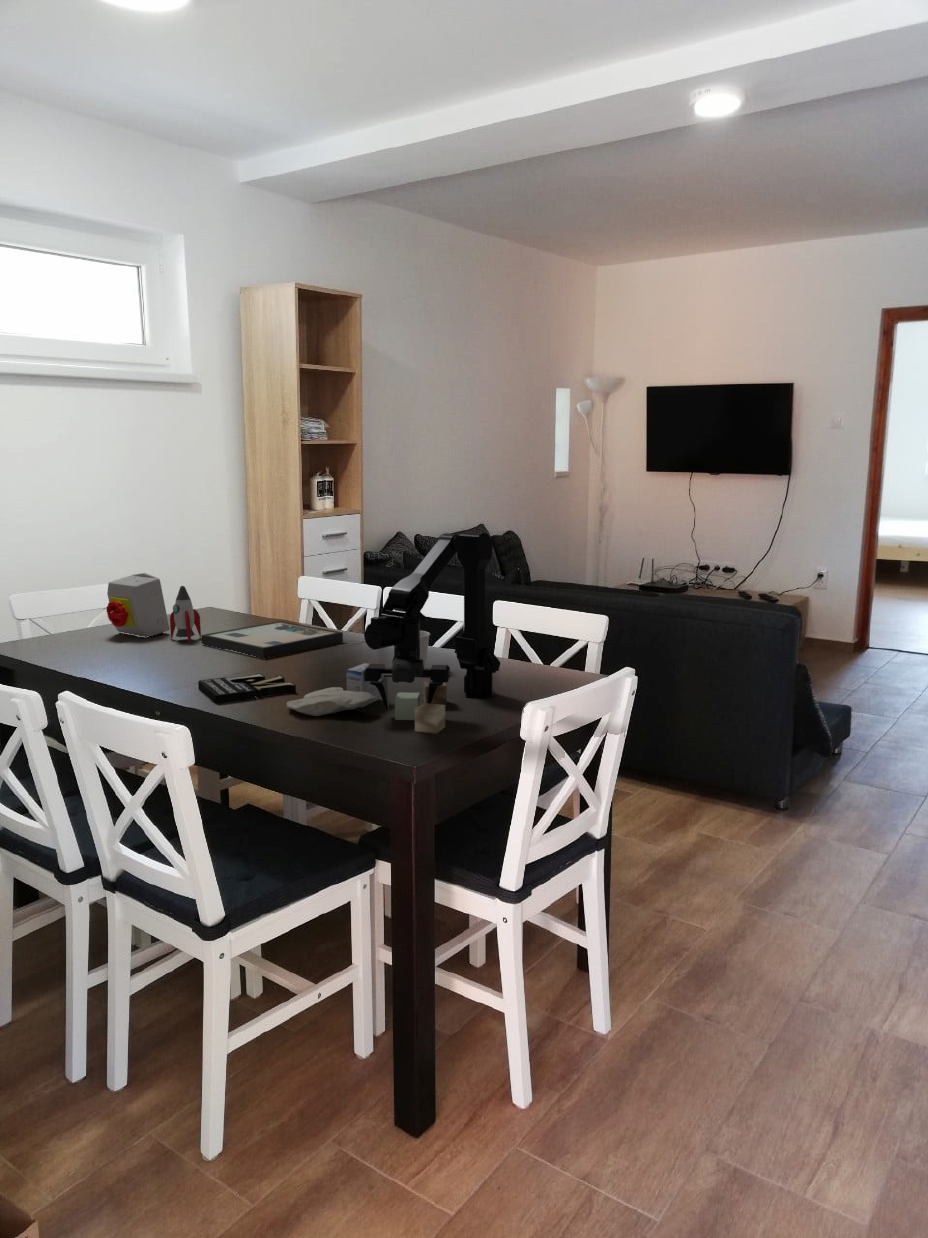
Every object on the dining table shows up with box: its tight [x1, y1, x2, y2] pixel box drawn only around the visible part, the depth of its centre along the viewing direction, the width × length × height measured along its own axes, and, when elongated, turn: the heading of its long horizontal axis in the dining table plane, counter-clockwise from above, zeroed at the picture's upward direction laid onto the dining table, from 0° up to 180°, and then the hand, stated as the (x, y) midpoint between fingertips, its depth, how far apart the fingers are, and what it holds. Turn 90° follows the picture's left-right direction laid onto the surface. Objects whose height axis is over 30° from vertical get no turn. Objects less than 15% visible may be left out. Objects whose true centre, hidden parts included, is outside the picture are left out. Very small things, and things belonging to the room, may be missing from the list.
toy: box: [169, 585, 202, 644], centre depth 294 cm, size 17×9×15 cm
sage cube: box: [394, 692, 421, 721], centre depth 210 cm, size 5×5×5 cm
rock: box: [286, 686, 376, 717], centre depth 215 cm, size 21×5×15 cm
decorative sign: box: [197, 672, 297, 705], centre depth 233 cm, size 17×2×20 cm
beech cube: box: [414, 702, 446, 734], centre depth 201 cm, size 5×5×5 cm
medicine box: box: [346, 662, 381, 708], centre depth 222 cm, size 8×4×9 cm, turn 154°
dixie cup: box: [420, 630, 431, 669], centre depth 254 cm, size 8×8×10 cm
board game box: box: [201, 620, 344, 659], centre depth 289 cm, size 30×4×30 cm
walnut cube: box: [422, 680, 448, 707], centre depth 221 cm, size 5×5×5 cm
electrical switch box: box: [105, 572, 170, 637], centre depth 300 cm, size 15×15×20 cm
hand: (407, 710), depth 211 cm, fingers open, 9 cm apart
